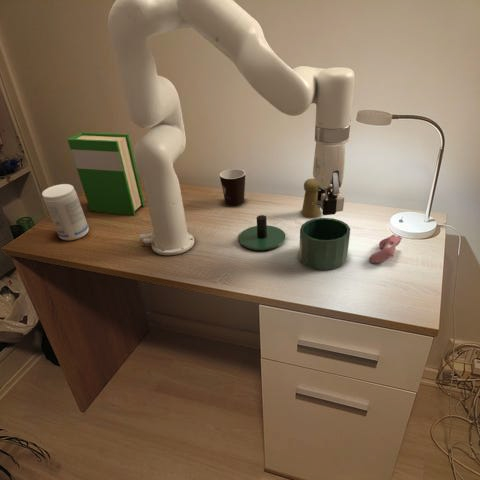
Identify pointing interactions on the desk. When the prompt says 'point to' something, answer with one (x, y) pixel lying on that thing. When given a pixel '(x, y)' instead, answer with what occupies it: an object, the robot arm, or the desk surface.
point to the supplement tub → (65, 211)
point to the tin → (324, 243)
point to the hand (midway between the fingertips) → (326, 209)
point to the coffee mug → (233, 186)
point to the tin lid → (262, 236)
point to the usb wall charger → (338, 207)
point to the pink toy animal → (386, 249)
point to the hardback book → (107, 172)
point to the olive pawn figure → (310, 199)
